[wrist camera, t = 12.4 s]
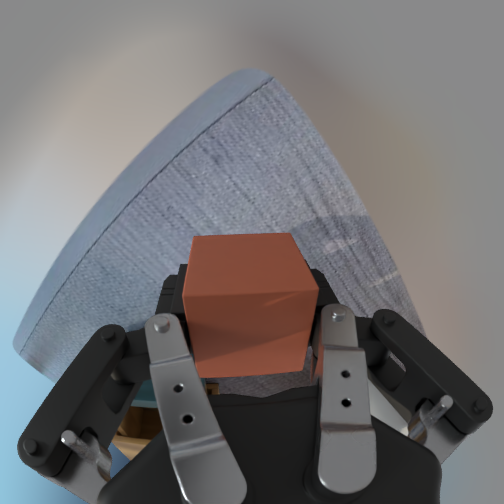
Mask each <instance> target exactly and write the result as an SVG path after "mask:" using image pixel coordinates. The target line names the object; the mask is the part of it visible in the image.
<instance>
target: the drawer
mask: <svg viewBox="0 0 504 504" xmlns="http://www.w3.org/2000/svg"><path fill="white" fill-rule="evenodd" d="M190 355H192V357H193V360H194V356H193V354H190ZM194 363H195V360H194ZM200 379H201V382H202V384H203V387H204V390H205V392H206V395H208V391H207V387H206V378H200ZM162 429H163V426H162V422H161V418H160V414H159V410H158V406H157V402H156V397H155V393H154V388H153V384H152V379H151V380H146V381H143V384H142V386H141V387H140V389H139V391H138V393H137V395H136V396H135V398H134V400H133V402H132V404H131V406H130V407H129V409H128V411H127V413H126V415H125V417H124V419H123V420H122V422H121V424H120V426H119V428H118V431H119V432H120V433H121V434H122V435H123V436H124V437H131V438H139V439H148V440H152V439H153V438H154V437H155V436H156V435H157V434H158V433H159V432H160V431H161V430H162Z"/></svg>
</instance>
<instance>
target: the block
mask: <svg viewBox="0 0 504 504" xmlns="http://www.w3.org/2000/svg"><path fill="white" fill-rule="evenodd" d="M318 292H319V287H318V285H317V283H316V281H315V279H314V277H313V275H312V273H311V271H310V269H309V267H308V266H307V264H306V262H305V260H304V258H303V256H302V254H301V252H300V250H299V248H298V246H297V245H296V243H295V241H294V239H293V237H292V235H291V233H263V234H234V235H208V236H194V237H193V241H192V246H191V251H190V256H189V261H188V266H187V272H186V277H185V283H184V288H183V294H182V298H183V304H184V309H185V315H186V320H187V326H188V331H189V336H190V341H191V346H192V351H193V356H194V360H195V365H196V368H197V371H198V374H199V376H200V378H214V377H238V376H253V375H266V374H276V373H286V372H294V371H302V370H303V366H304V362H305V357H306V353H307V348H308V344H309V339H310V334H311V329H312V324H313V319H314V314H315V309H316V303H317V298H318Z"/></svg>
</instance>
